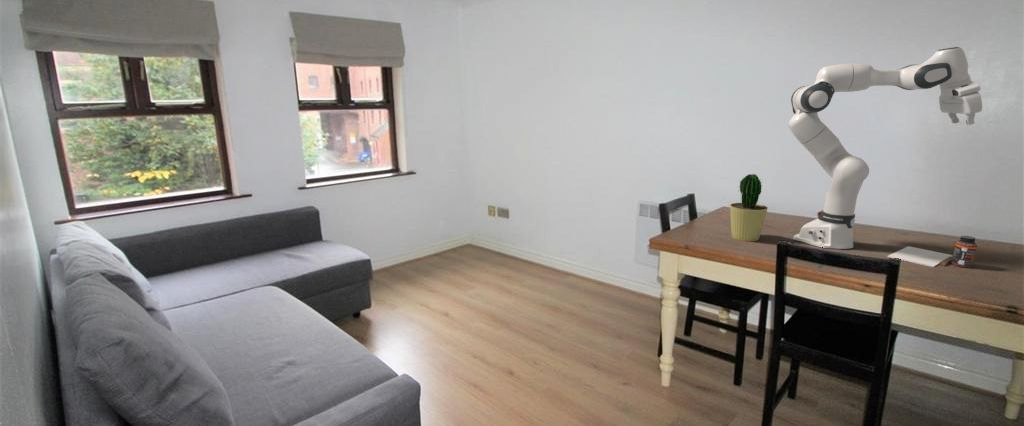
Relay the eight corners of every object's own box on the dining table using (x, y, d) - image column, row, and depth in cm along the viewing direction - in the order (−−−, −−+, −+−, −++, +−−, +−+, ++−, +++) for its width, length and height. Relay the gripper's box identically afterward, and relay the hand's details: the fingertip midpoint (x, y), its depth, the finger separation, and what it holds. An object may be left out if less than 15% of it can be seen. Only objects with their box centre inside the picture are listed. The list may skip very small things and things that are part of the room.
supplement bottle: (964, 268, 179) (971, 239, 176) (947, 263, 185) (953, 235, 182) (976, 267, 181) (983, 238, 178) (958, 262, 186) (964, 234, 183)
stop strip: (939, 264, 183) (939, 262, 183) (949, 258, 190) (950, 256, 190) (944, 266, 182) (944, 263, 182) (954, 259, 189) (955, 257, 188)
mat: (887, 257, 193) (887, 256, 193) (908, 247, 205) (908, 246, 205) (933, 267, 181) (933, 266, 181) (952, 256, 193) (952, 255, 193)
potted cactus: (756, 233, 227) (763, 170, 220) (769, 242, 212) (777, 175, 205) (722, 232, 229) (728, 170, 222) (733, 242, 214) (740, 175, 207)
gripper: (931, 91, 196) (938, 124, 198) (962, 91, 177) (969, 127, 179) (950, 86, 194) (956, 119, 196) (983, 85, 175) (990, 122, 177)
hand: (963, 123), depth 187 cm, fingers open, 8 cm apart
